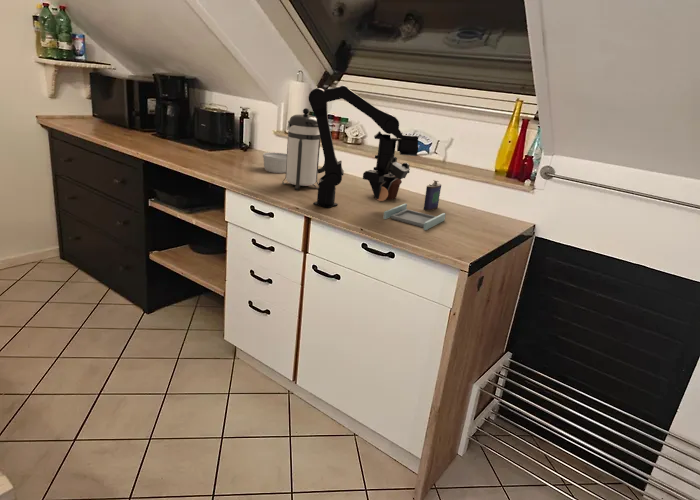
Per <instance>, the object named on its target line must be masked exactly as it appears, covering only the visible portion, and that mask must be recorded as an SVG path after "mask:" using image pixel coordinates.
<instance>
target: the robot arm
mask: <svg viewBox="0 0 700 500" xmlns="http://www.w3.org/2000/svg"><path fill="white" fill-rule="evenodd" d="M341 99H342V100H344V101H345V102H347V103H348V104H350V105H351V106H353V107H354V108H355V109H357V110H359V111H360V112H362V113H363V114H364V115H366V116H367V117H369V118H370V119H371V120H372V121H373V122H375V124H377V126H378V127H379V128H380V129H381V130H383V132H384V133H382V132H381V130H379V131H378V132H377V133H376V134H374V136H373V137H374V139H375V140H378V148H377V149H378V150H377V154H375V155H374V159H376V166H374V167H373V170H372V169H369V170H365V171H364V172H363V173H362V180H366V181H368V183H369V185H370V187H371V190H372V193H373V196H374V198H375V200H377V199H379V196H380V192H381V187H385V188H386V189H387V190H389V188H390V186H391V184H392V182H393V181H395V180H396V179H401V180H402V179H406V177H407V176H408V174H409V173H410V169H411V168H410V164H409V163H408V162H404V163H399V162H398V158H397V156H395V155H396V154H395V152H399V155H400V156H410V157H418V153H419V136H418V135H413V134H412V135H410V134H403V131H401V130H400V121H399V119H398V118H397V117H396V116H395V115H393V114H392V113H389V112H387V111H385V110H382V109H379V108H377V107H376V106H374V105H373V104H371V103H370V102H369V101H367V100H366V99H364V98H363V97H361V96H360V95H359V94H357V92H356V93H355V92H354V91H353V90H351V89H350V88H349V87H348V86H347V85H340V86H337V87H331V88H327V89H323V88H321V87H316V88H314V89H312V90H311V91H310V93H309V94H308V102H309V105H310V107H311V109H312V112H313V114H314V116H315V117H316V119H317V124H318V129H319V133H320V144H321V147H322V152H323V157H324V161H325V171H324V175H322V177H320V178H319V181H318V184H317V186H318V185H319V186H318V187H317V188H318V189H317V196H316V197H317V198H316V201H313V202H312V204H313V205H316V206H319V207H322V208H326V209H329V208H332V207H336V206H338V203H336V202H335V200H336V189H337V188H336V187H337V186H339V185H340V184H341V182H342V181H343V176H345V175H344V174H345V173H344V172H345V171H344V170H343V165H342V160H338V159H337V157H336V152H335V147H334V141H333V137H332V133H331V127H330V122H329V118H328V117H329V116H328V102H329V103H330V102H333V101H337V100H341ZM391 135H393V136H394V137H391ZM395 176H396V177H395Z"/></svg>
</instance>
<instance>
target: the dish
mask: <svg viewBox="0 0 700 500" xmlns="http://www.w3.org/2000/svg"><path fill="white" fill-rule="evenodd" d="M436 216H437V215H433V214H428V213H424V212H419V211H416V210H412V209H408V208H406V210H403V211H401V212H398V213H396V214H393V215H391V217H390V220H393V221H396V222H397V221H398V222H402V223H405V224H409V225H412V226H415V227H420V228H424V224H425V222H426V221H428V220H430V219H432V218H434V217H436Z"/></svg>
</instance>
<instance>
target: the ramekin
mask: <svg viewBox="0 0 700 500" xmlns="http://www.w3.org/2000/svg"><path fill="white" fill-rule="evenodd" d="M262 158H263V167H264V170H265V171H266V172H270V173H274V174H286V161H287V153H283V152H275V151H274V152H273V151H272V152H271V151H269V152H268V151H267V152H263V154H262Z"/></svg>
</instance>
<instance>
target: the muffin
mask: <svg viewBox="0 0 700 500" xmlns="http://www.w3.org/2000/svg"><path fill="white" fill-rule="evenodd" d="M395 177H396V176H395ZM401 184H402V179H396V180H395V181H393V182H392V184H391V186H390V188H389V190H388V197H387V198H386V199H385V200H396V198H397V196H398V192H399V190H400V186H401Z"/></svg>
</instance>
